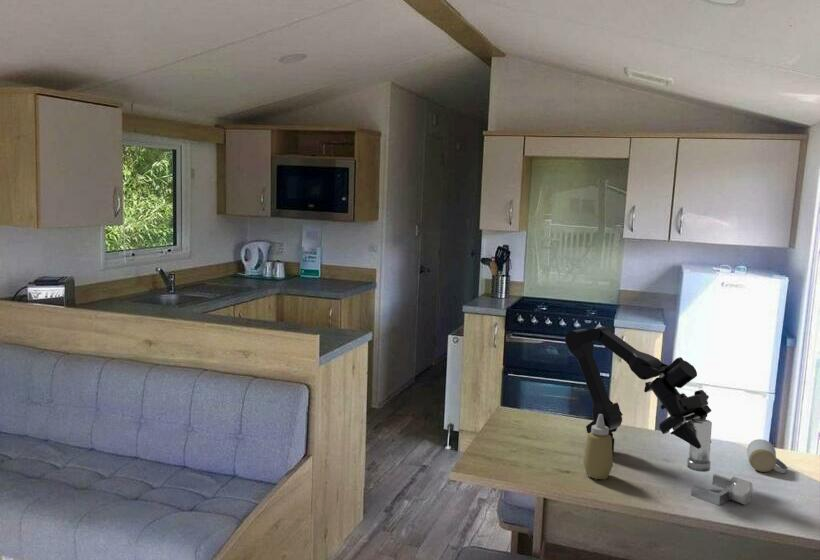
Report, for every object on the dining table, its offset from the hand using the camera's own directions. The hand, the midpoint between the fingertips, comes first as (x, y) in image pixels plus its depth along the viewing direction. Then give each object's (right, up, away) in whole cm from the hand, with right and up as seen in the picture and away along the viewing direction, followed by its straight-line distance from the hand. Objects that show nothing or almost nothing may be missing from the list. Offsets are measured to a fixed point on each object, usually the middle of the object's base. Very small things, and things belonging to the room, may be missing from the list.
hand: (705, 445), depth 183 cm
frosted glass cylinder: (-1, -6, +2) cm, 7 cm away
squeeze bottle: (-27, -11, +8) cm, 30 cm away
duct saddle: (+4, -13, -3) cm, 14 cm away
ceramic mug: (+25, -11, +16) cm, 32 cm away
